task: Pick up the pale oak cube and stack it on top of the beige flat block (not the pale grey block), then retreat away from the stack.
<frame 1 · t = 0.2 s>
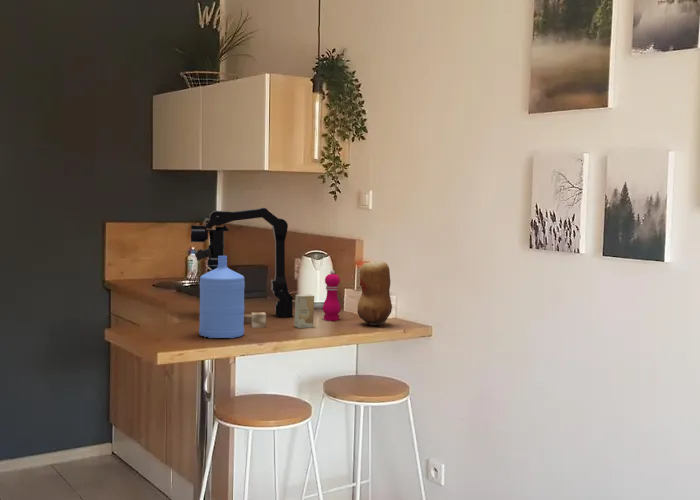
hand: (216, 281, 314), 14 cm above the worktop, fingers open, 9 cm apart
water jug: (221, 335, 277), on the worktop
skincare box: (304, 327, 297), on the worktop
beige flat block: (244, 323, 304), on the worktop
oak cube: (258, 326, 296), on the worktop
pepper mill: (331, 320, 315), on the worktop
butternut squash: (374, 325, 305), on the worktop
grey block: (232, 329, 290), on the worktop
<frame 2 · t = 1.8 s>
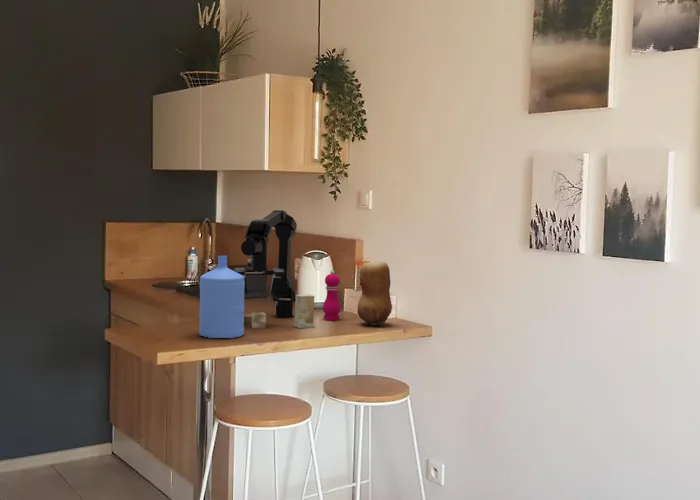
hand: (258, 295, 295), 12 cm above the worktop, fingers open, 9 cm apart
nothing on the worktop moved.
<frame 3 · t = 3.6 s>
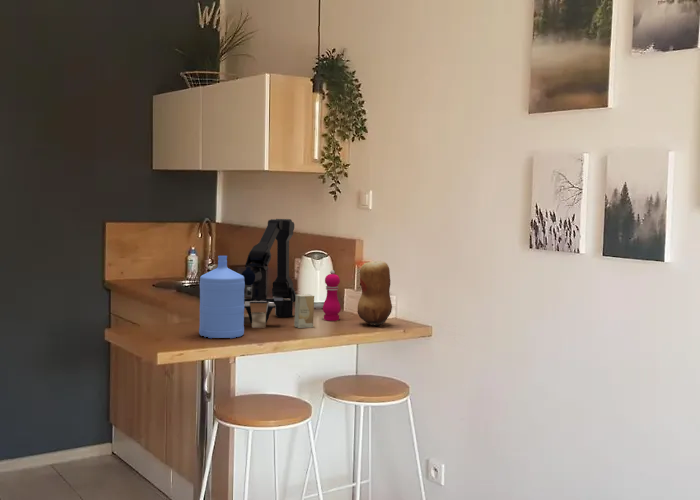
hand: (258, 323, 296), 1 cm above the worktop, fingers closed on oak cube, 5 cm apart
oak cube: (258, 326, 296), on the worktop, touching gripper
everything else where it was.
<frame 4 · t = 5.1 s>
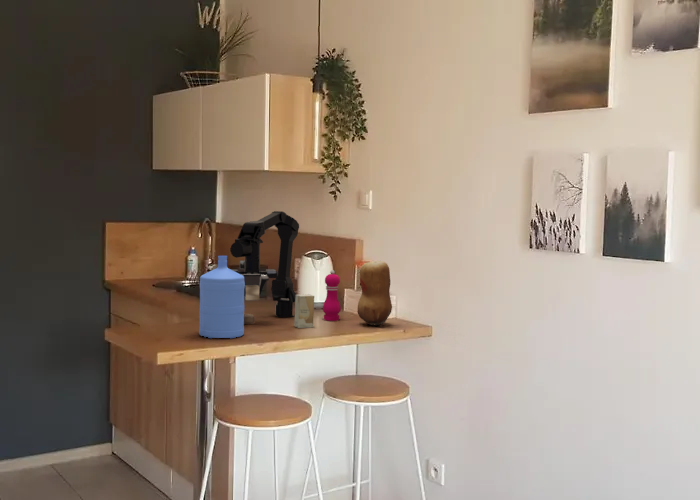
hand: (252, 296, 299), 11 cm above the worktop, fingers closed on oak cube, 5 cm apart
oak cube: (252, 299, 299), point 10 cm above the worktop, touching gripper
everything else where it was.
when the fingers open (4 cm above the worktop, at t = 7.0 s): oak cube stays where it is, resting on beige flat block.
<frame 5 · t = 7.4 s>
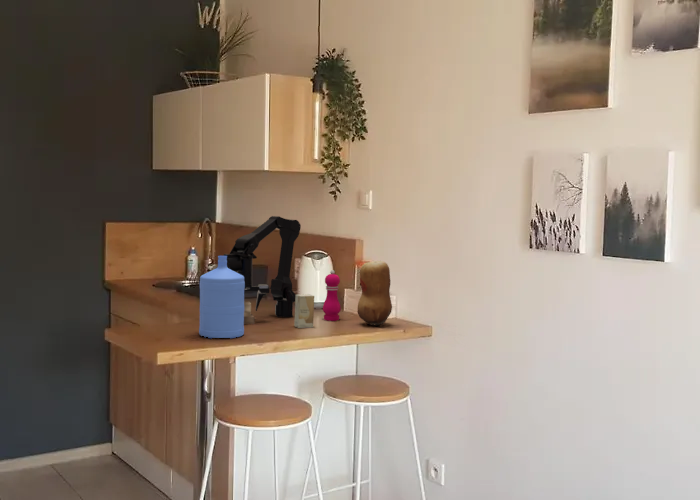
hand: (244, 310, 304), 4 cm above the worktop, fingers open, 9 cm apart
beige flat block: (244, 323, 304), on the worktop, touching oak cube
oak cube: (243, 315, 304), point 3 cm above the worktop, touching beige flat block
everything else where it was.
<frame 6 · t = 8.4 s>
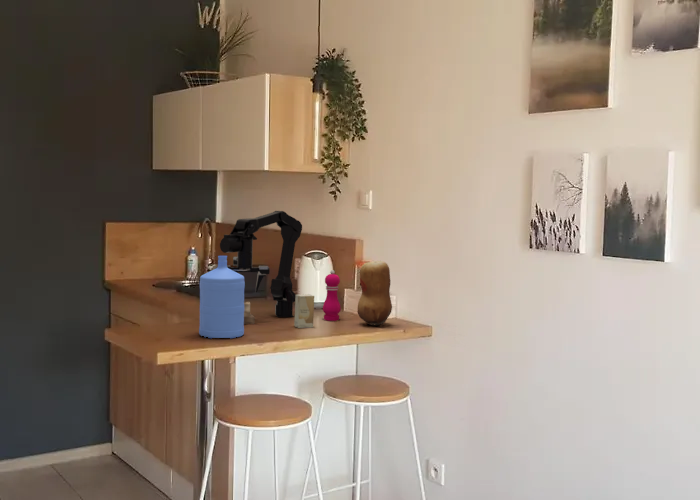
hand: (244, 292, 303), 12 cm above the worktop, fingers open, 9 cm apart
beige flat block: (244, 323, 304), on the worktop
oak cube: (243, 315, 303), point 3 cm above the worktop
everything else where it was.
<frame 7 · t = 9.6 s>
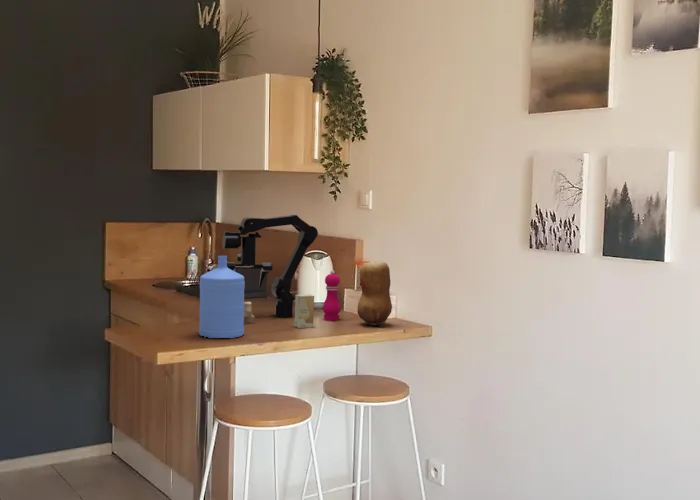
hand: (248, 287, 314), 12 cm above the worktop, fingers open, 9 cm apart
nothing on the worktop moved.
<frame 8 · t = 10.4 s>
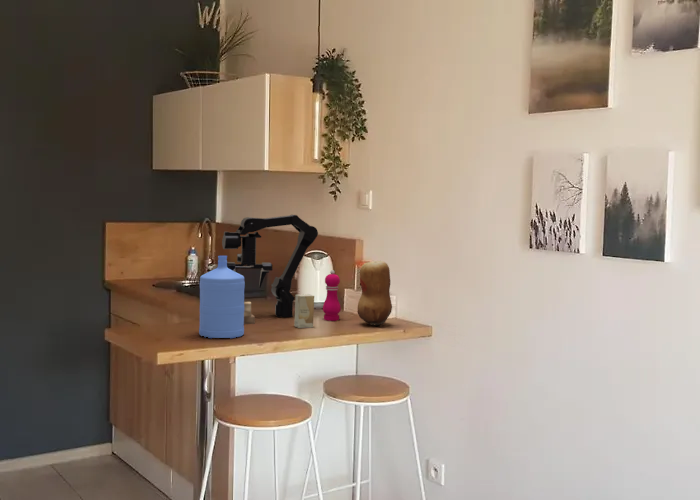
hand: (248, 287, 314), 12 cm above the worktop, fingers open, 9 cm apart
nothing on the worktop moved.
at the end: oak cube 0.0 cm off-centre on the beige flat block, point 3.0 cm above the beige flat block's base; oak cube tilted 0°; the gripper is holding nothing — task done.
